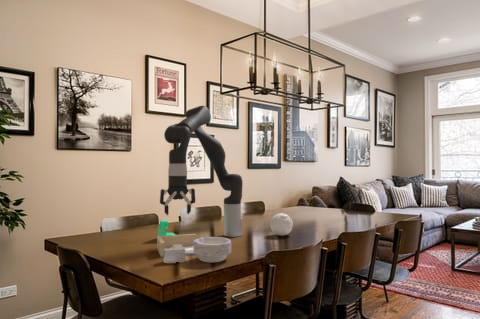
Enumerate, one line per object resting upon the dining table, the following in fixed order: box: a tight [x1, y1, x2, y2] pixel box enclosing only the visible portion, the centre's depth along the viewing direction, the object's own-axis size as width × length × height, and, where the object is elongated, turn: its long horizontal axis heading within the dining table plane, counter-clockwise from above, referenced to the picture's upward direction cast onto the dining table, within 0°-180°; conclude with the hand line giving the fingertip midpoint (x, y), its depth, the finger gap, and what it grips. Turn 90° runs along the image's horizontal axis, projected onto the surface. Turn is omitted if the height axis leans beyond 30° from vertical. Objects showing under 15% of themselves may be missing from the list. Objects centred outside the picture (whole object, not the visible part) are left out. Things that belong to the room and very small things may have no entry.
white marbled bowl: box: [193, 236, 232, 264], centre depth 149 cm, size 15×15×8 cm
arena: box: [156, 233, 198, 258], centre depth 164 cm, size 18×16×6 cm
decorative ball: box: [270, 212, 294, 237], centre depth 200 cm, size 12×12×12 cm
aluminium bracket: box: [163, 244, 186, 264], centre depth 150 cm, size 10×8×5 cm
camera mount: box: [157, 219, 177, 236], centre depth 191 cm, size 12×8×10 cm, turn 24°
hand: (177, 214), depth 152 cm, fingers open, 8 cm apart
